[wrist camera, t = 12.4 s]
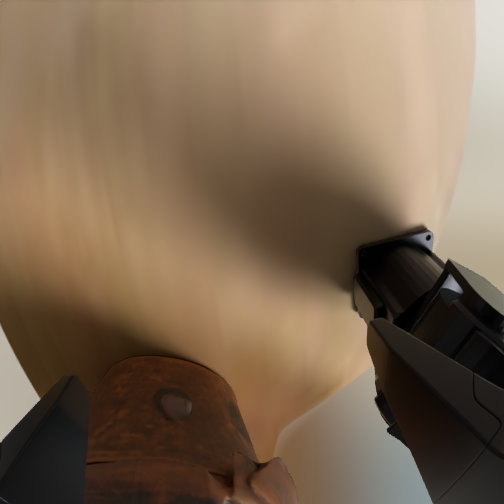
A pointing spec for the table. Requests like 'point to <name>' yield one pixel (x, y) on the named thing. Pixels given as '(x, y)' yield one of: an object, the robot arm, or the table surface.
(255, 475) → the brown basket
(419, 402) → the robot arm
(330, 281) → the table surface
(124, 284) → the table surface
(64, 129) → the table surface
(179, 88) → the table surface
